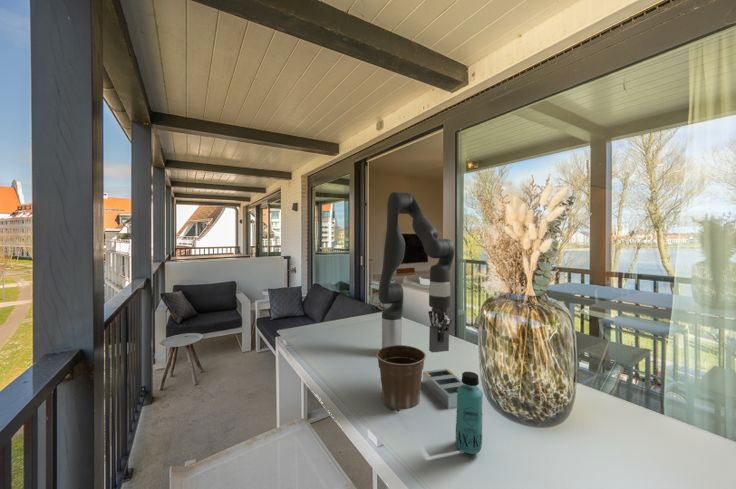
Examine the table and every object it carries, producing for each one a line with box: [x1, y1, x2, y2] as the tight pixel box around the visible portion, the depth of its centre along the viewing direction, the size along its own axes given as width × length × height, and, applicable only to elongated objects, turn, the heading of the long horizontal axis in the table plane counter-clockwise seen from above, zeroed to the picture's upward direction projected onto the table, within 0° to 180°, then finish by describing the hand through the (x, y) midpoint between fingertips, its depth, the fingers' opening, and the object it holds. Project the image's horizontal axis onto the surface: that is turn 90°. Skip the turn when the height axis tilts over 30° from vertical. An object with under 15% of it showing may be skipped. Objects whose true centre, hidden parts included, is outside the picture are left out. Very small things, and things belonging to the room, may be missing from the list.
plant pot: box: [375, 344, 427, 412], centre depth 100 cm, size 16×16×16 cm
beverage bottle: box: [455, 371, 484, 455], centre depth 77 cm, size 6×7×20 cm
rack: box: [422, 368, 464, 410], centre depth 105 cm, size 18×10×5 cm, turn 16°
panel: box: [428, 325, 450, 353], centre depth 110 cm, size 2×7×9 cm, turn 105°
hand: (439, 341), depth 110 cm, fingers closed on panel, 1 cm apart
